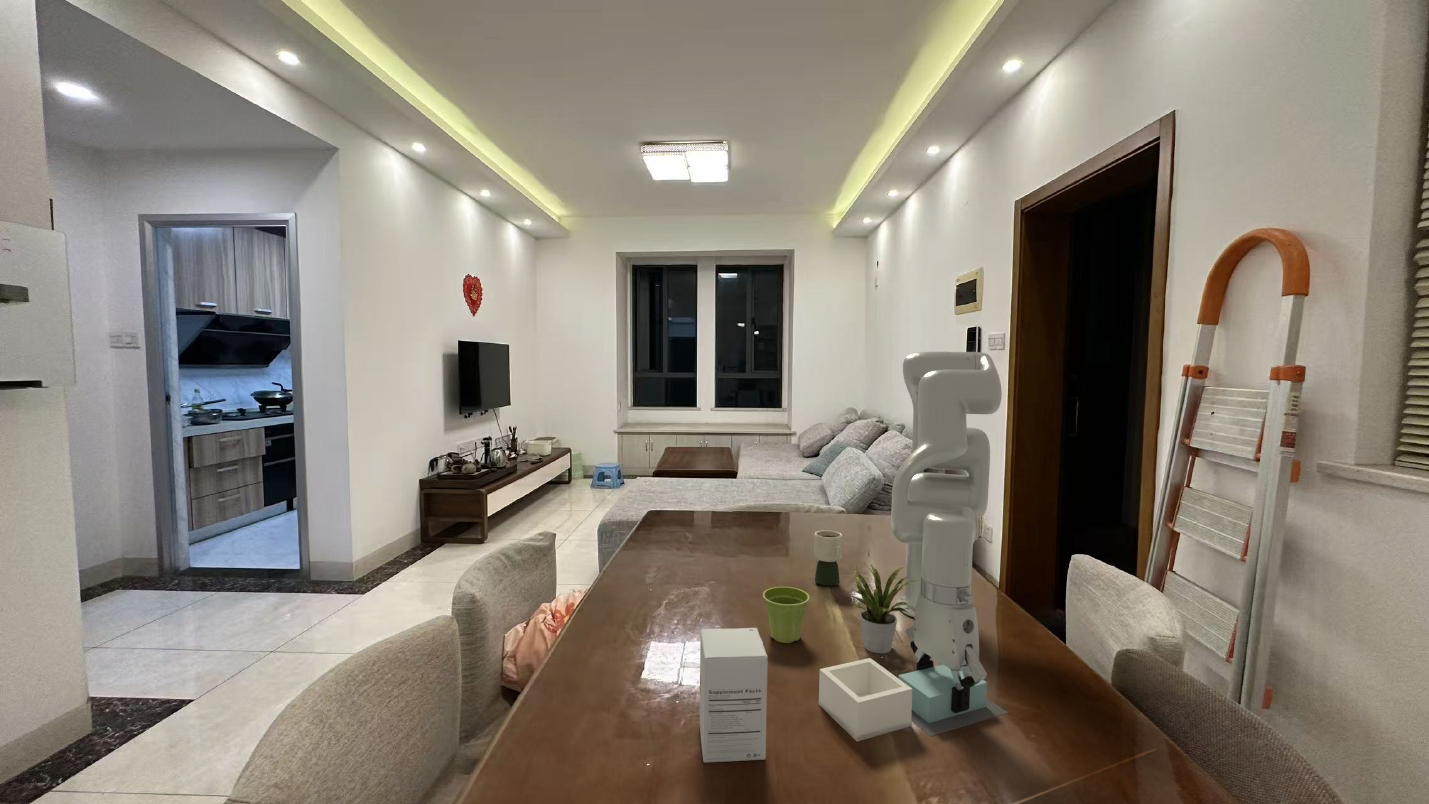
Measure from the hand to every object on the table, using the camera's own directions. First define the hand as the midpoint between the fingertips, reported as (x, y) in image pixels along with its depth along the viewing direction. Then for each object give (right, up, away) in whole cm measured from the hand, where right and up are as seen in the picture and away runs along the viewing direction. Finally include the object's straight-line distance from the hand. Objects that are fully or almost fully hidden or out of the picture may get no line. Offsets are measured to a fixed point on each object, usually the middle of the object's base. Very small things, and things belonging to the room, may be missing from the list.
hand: (941, 696), depth 92 cm
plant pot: (-23, 0, +23) cm, 32 cm away
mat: (0, -1, 0) cm, 1 cm away
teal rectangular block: (0, -1, 0) cm, 1 cm away
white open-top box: (-14, -1, -4) cm, 14 cm away
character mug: (-8, +1, +53) cm, 54 cm away
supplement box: (-35, -1, -10) cm, 36 cm away
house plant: (-4, 0, +19) cm, 19 cm away
